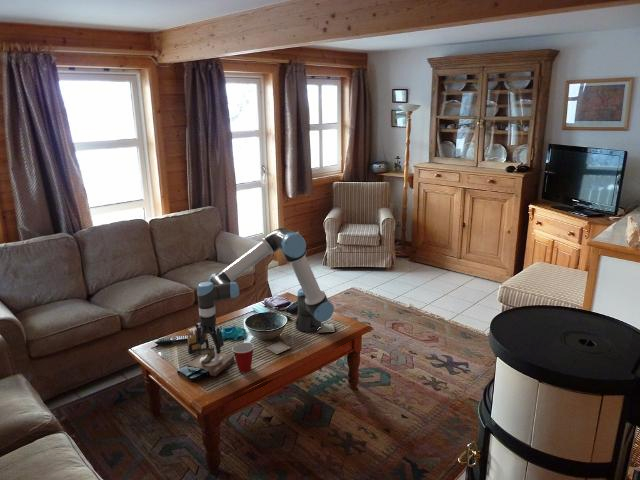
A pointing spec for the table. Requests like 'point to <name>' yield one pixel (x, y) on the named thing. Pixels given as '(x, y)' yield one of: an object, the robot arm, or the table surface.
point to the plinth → (213, 363)
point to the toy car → (233, 333)
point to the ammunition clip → (192, 343)
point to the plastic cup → (243, 356)
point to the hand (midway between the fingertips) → (211, 357)
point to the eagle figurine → (209, 357)
